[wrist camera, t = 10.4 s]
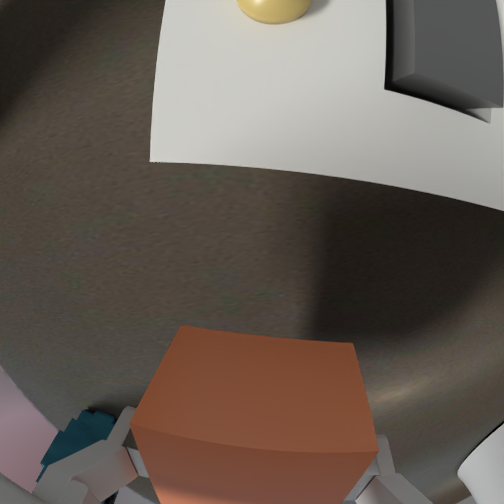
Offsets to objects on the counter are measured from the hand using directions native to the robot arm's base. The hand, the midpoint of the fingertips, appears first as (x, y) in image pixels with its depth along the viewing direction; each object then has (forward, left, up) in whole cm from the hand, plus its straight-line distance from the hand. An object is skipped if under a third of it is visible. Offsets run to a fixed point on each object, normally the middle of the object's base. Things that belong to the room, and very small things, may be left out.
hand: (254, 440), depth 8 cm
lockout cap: (0, 0, -2) cm, 2 cm away
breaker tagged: (-4, -13, -6) cm, 15 cm away
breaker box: (-4, -17, -6) cm, 18 cm away
